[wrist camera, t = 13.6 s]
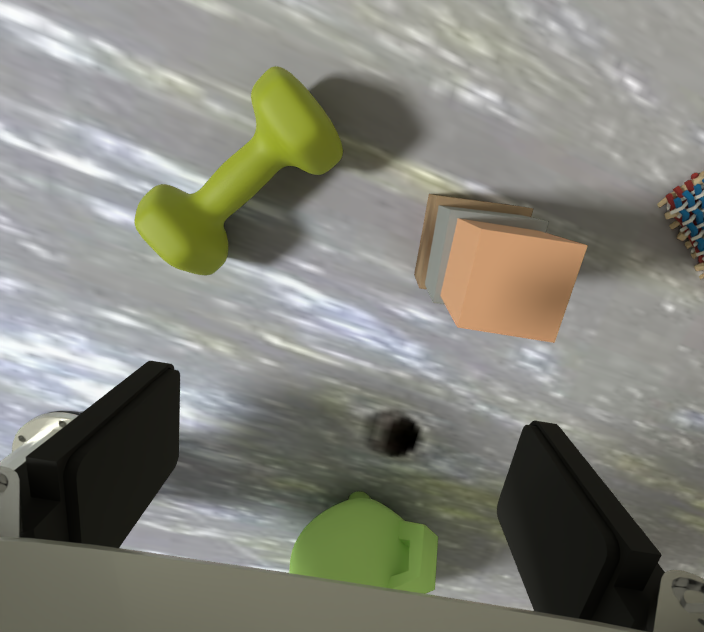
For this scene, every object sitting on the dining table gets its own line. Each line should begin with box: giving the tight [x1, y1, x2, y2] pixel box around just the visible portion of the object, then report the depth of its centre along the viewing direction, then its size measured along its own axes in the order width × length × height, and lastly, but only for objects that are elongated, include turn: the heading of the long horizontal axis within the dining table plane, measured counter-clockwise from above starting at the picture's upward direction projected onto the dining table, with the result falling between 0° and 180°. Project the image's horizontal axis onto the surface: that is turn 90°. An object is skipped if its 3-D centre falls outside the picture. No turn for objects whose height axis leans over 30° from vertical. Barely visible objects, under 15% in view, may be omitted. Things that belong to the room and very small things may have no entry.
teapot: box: [289, 491, 438, 594], centre depth 40 cm, size 20×13×13 cm
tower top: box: [425, 205, 549, 304], centre depth 27 cm, size 6×6×5 cm
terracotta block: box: [440, 218, 588, 343], centre depth 22 cm, size 5×5×6 cm
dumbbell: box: [135, 66, 343, 275], centre depth 30 cm, size 16×8×7 cm, turn 128°
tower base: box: [414, 194, 533, 289], centre depth 32 cm, size 7×7×5 cm
